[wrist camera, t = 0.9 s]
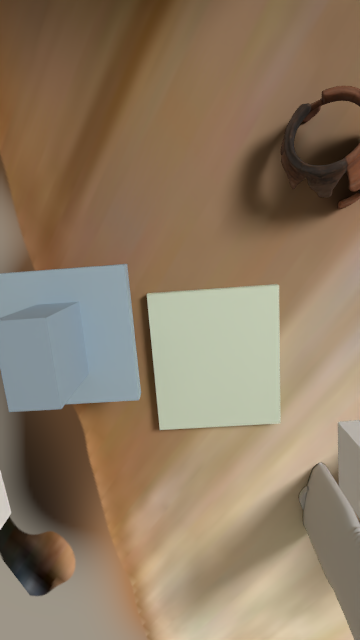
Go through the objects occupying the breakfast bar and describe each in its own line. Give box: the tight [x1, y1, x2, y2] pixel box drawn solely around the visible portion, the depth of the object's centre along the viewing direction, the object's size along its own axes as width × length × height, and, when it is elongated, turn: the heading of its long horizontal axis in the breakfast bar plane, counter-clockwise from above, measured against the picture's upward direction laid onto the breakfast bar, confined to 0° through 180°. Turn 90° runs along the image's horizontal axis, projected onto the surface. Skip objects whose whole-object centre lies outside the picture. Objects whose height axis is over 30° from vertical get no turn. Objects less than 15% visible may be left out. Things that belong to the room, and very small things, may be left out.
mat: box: [147, 284, 280, 430], centre depth 37 cm, size 16×14×1 cm
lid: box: [0, 264, 141, 412], centre depth 28 cm, size 13×13×8 cm
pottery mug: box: [281, 86, 360, 209], centre depth 30 cm, size 12×10×8 cm
